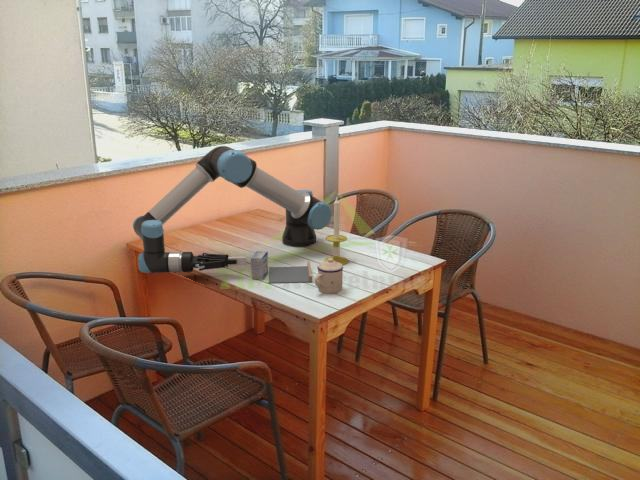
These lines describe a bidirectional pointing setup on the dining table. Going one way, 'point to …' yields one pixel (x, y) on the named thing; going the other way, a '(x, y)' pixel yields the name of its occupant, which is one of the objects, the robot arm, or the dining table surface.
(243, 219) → the dining table surface
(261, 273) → the medicine box
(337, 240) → the candle
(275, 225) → the dining table surface
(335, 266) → the teacup with lid
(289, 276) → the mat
